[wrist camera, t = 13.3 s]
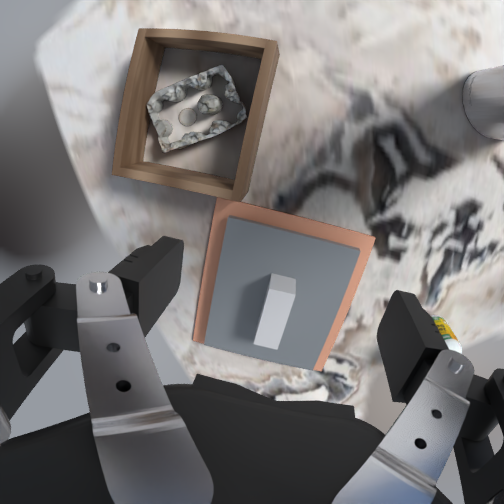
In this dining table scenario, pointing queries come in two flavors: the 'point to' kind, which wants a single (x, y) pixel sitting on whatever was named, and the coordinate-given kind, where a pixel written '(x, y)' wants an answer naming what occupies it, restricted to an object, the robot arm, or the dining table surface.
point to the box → (143, 87)
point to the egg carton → (189, 116)
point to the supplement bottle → (447, 334)
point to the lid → (277, 292)
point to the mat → (287, 222)
